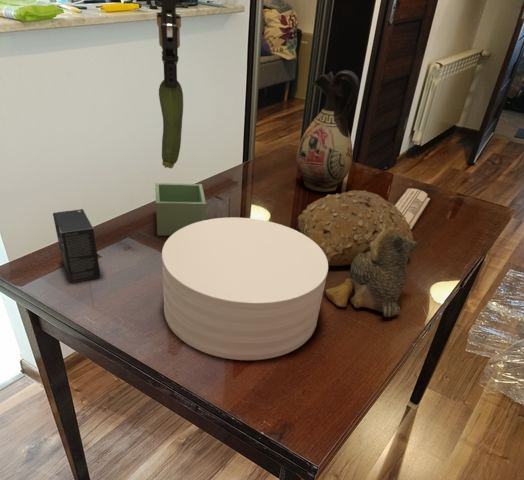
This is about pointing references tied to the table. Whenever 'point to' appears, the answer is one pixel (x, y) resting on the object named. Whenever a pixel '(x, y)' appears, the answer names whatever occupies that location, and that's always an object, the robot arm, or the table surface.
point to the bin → (178, 206)
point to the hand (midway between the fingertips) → (170, 83)
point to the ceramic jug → (328, 136)
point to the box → (77, 245)
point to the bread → (350, 223)
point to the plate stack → (242, 287)
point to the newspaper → (412, 204)
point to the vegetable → (171, 122)
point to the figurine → (377, 275)
